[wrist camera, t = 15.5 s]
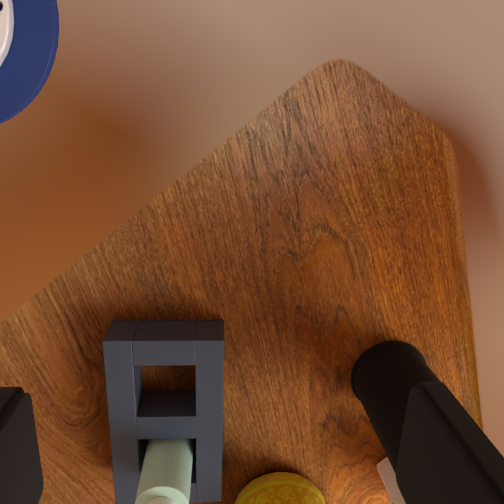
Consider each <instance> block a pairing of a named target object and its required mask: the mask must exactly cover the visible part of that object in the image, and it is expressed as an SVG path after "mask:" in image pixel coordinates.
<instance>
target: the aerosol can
mask: <svg viewBox="0 0 504 504" xmlns="http://www.w3.org/2000/svg"><path fill="white" fill-rule="evenodd" d="M419 382H440V381H439V379H438V378H437V377H436V376H435V374H434V373H433V372H432V371H431V369H430V368H429V367H428V366H427V364H426V362H425V359H424V357H423V356H422V354H421V353H420V352H419V351H418V350H417V349H416V348H414V347H413V346H411V345H408V344H406V343H402V342H386V343H381V344H379V345H376V346H374V347H372V348H370V349H369V350H367V351H366V352H365V353H364V354H362V355H361V357H360V358H359V359H358V360H357V362H356V363H355V365H354V367H353V370H352V373H351V385H352V389H353V392H354V394H355V395H356V397H357V398H358V399H359V400H360V401H361V403H362V405H363V407H364V409H365V411H366V413H367V415H368V417H369V420H370V422H371V424H372V426H373V428H374V430H375V432H376V434H377V436H378V438H379V441H380V443H381V445H382V447H383V449H384V451H385V453H386V455H387V457H388V459H389V462H390V464H391V466H392V468H393V470H394V472H395V474H396V466H397V460H398V454H399V448H400V443H401V437H402V431H403V425H404V420H405V414H406V408H407V403H408V397H409V392H410V390H411V389H412V388H416V385H417V384H418V383H419Z"/></svg>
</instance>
